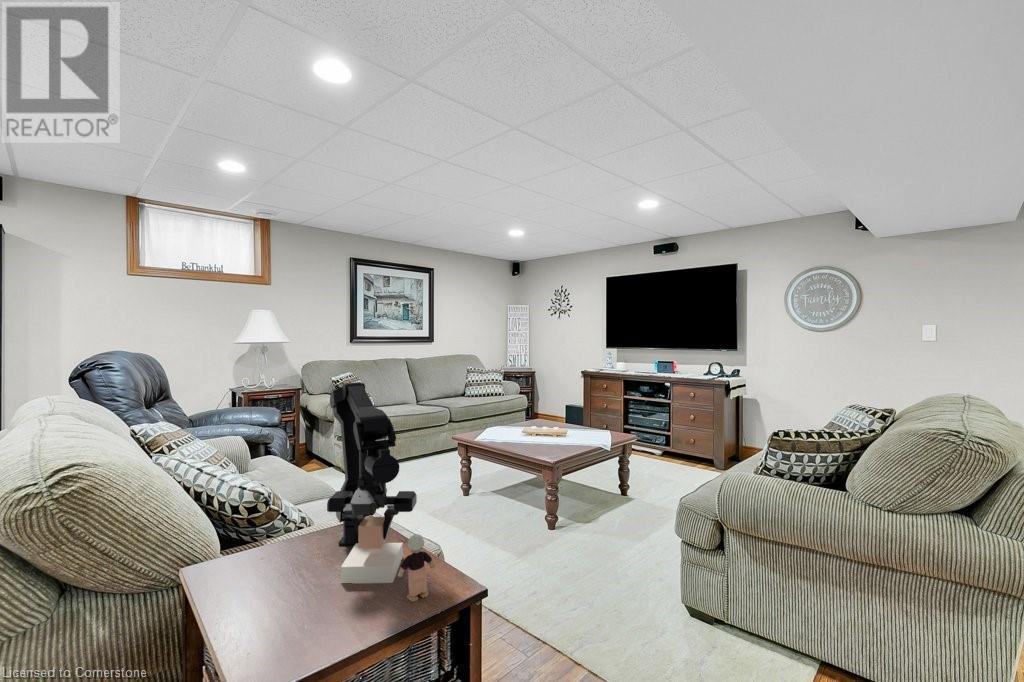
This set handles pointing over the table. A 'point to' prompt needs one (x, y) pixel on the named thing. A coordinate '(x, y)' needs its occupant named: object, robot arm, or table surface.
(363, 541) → the terracotta block
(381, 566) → the cream box
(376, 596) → the table surface
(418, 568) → the grandmother figurine
